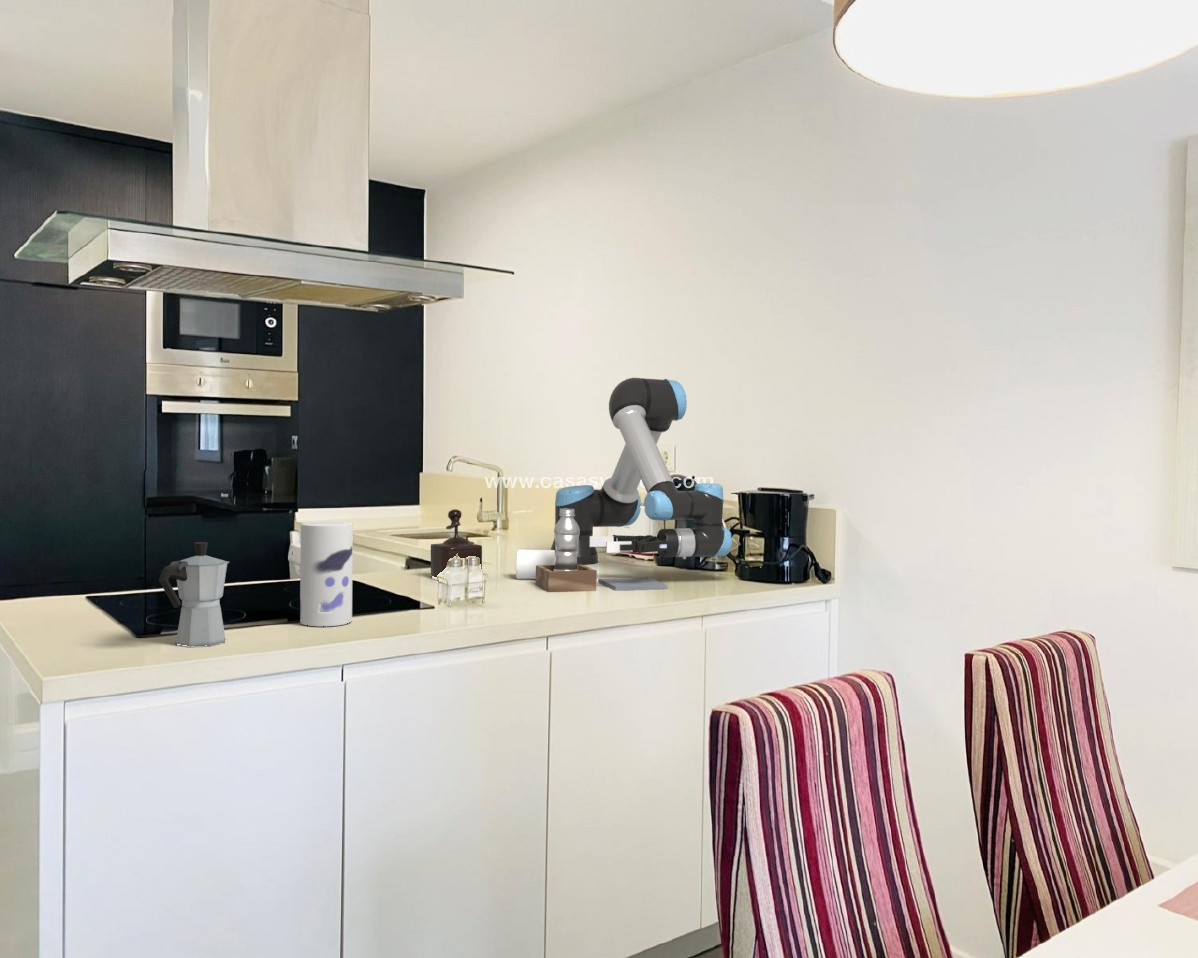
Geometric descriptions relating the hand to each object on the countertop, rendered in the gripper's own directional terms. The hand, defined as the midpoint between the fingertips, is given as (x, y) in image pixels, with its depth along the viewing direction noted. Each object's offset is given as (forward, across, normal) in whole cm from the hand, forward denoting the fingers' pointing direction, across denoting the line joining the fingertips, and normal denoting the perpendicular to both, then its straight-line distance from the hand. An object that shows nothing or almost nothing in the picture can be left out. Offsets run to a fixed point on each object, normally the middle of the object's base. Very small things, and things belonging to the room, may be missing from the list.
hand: (597, 544), depth 248 cm
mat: (-10, 0, -11) cm, 15 cm away
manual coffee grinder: (+33, +22, -11) cm, 42 cm away
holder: (+8, 0, -11) cm, 14 cm away
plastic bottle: (+8, 0, -11) cm, 14 cm away
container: (+68, -34, -11) cm, 77 cm away
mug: (+11, +18, -11) cm, 24 cm away
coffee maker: (+92, -49, -11) cm, 105 cm away
